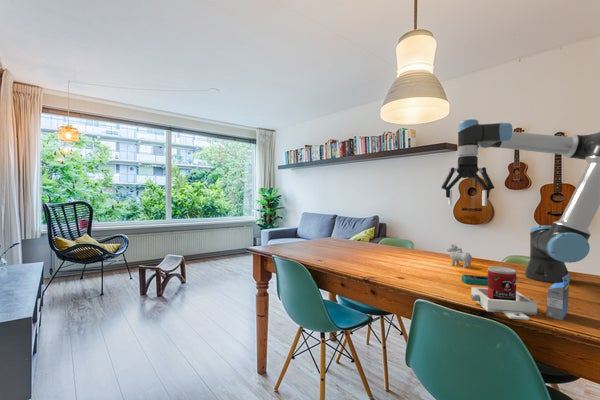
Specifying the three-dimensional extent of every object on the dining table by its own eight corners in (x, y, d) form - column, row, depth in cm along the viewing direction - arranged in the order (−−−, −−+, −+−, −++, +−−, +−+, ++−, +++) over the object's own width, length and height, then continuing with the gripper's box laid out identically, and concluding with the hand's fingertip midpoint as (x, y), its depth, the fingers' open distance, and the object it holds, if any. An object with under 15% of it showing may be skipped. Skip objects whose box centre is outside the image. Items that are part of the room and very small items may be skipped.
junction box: (513, 296, 106) (514, 286, 106) (554, 322, 84) (554, 309, 84) (460, 292, 109) (461, 283, 109) (486, 316, 87) (486, 304, 87)
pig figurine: (450, 262, 160) (450, 243, 160) (473, 267, 149) (473, 246, 149) (444, 263, 158) (444, 243, 158) (467, 268, 147) (467, 247, 147)
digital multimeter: (460, 280, 128) (460, 273, 128) (500, 283, 123) (500, 276, 123) (463, 284, 121) (463, 277, 121) (506, 288, 116) (506, 281, 116)
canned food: (493, 306, 94) (493, 271, 93) (483, 297, 101) (484, 265, 101) (520, 308, 92) (521, 272, 92) (509, 299, 100) (509, 267, 99)
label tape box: (551, 309, 93) (552, 270, 93) (569, 313, 90) (569, 273, 90) (545, 316, 88) (546, 275, 88) (563, 321, 85) (564, 278, 84)
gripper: (495, 157, 129) (494, 205, 130) (434, 158, 134) (434, 204, 135) (503, 154, 122) (503, 206, 122) (439, 155, 127) (438, 205, 127)
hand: (466, 205), depth 128 cm, fingers open, 13 cm apart
